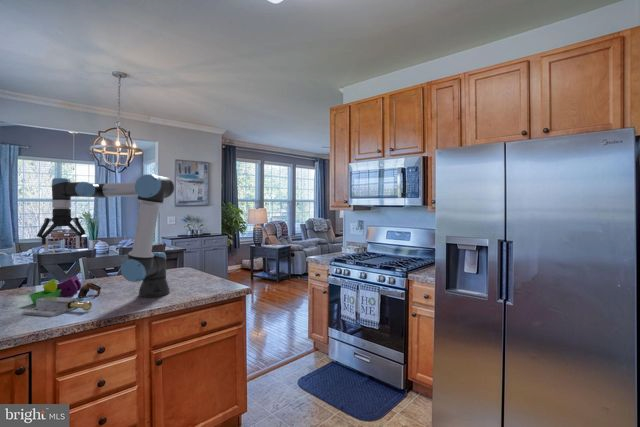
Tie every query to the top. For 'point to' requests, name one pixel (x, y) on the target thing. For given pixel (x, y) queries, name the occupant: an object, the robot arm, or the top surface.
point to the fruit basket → (46, 291)
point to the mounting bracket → (69, 286)
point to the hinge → (51, 306)
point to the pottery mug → (85, 289)
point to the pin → (81, 305)
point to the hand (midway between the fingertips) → (62, 249)
